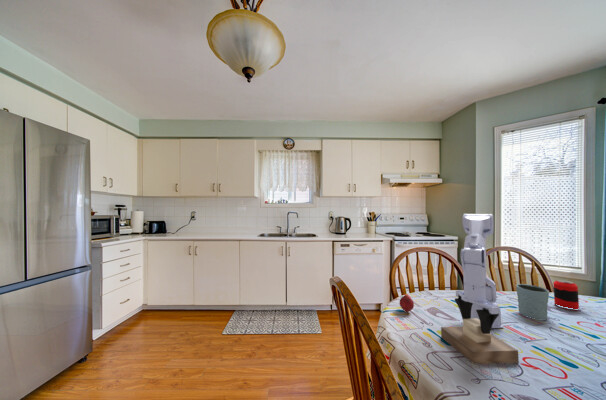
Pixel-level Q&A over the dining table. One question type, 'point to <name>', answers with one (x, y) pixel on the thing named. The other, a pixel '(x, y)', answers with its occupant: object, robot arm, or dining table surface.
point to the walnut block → (480, 347)
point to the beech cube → (475, 330)
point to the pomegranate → (406, 303)
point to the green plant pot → (532, 301)
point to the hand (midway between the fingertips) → (475, 326)
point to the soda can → (566, 294)
